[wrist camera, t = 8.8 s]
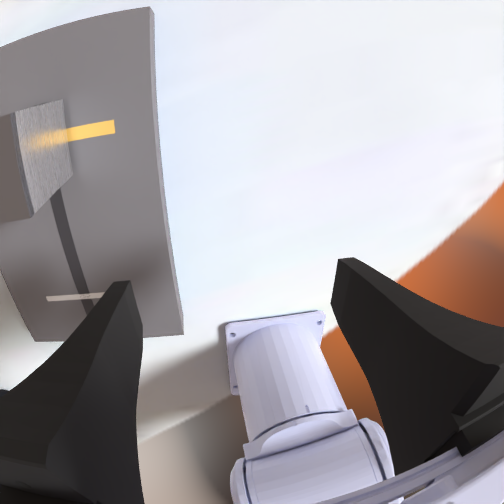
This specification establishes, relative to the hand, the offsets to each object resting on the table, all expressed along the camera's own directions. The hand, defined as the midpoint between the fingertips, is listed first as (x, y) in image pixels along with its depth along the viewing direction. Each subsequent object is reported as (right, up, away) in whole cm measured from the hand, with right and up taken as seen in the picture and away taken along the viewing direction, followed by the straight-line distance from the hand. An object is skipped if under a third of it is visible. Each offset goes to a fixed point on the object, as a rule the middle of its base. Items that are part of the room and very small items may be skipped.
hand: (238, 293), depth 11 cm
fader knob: (-10, +7, +2) cm, 12 cm away
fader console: (-11, +5, +6) cm, 13 cm away
